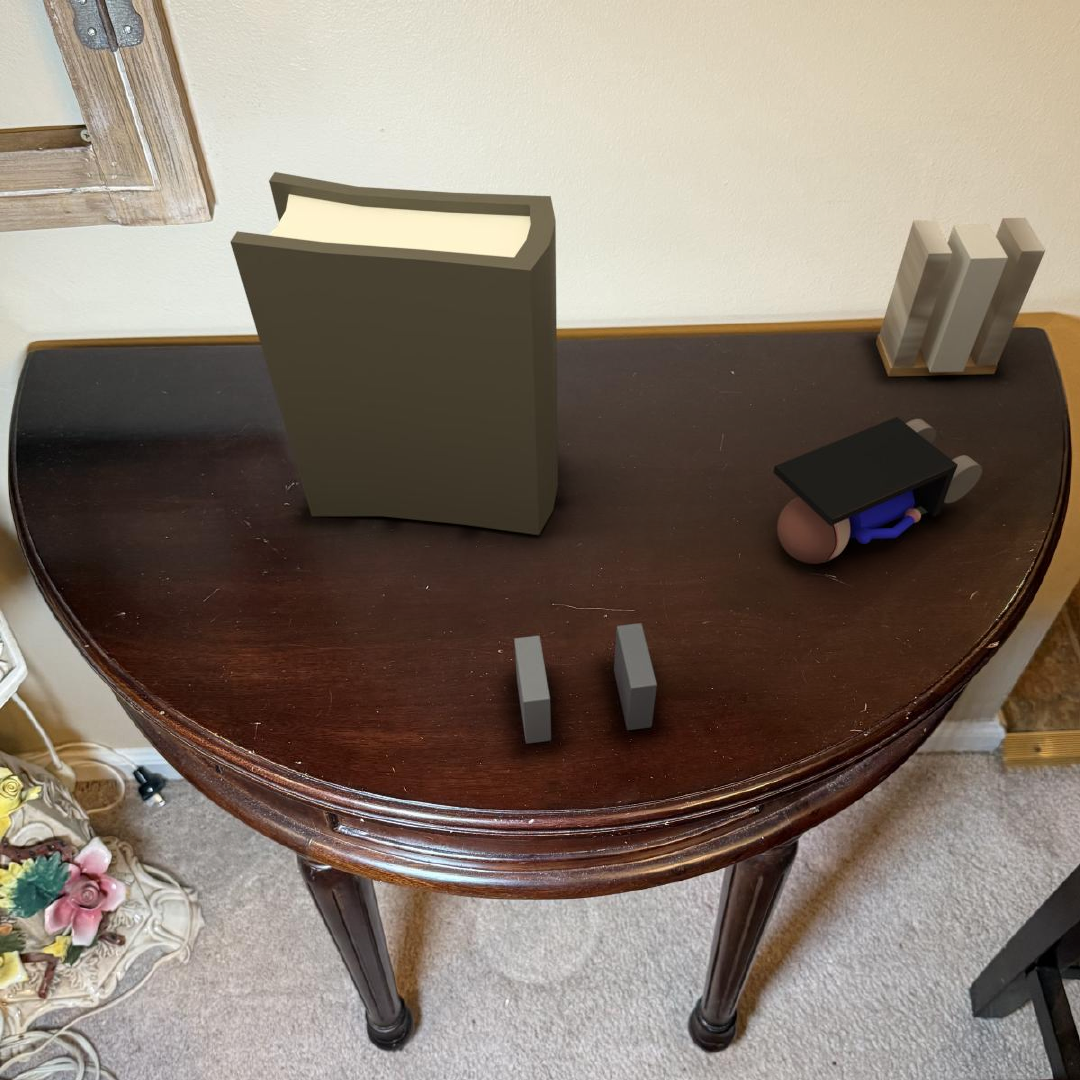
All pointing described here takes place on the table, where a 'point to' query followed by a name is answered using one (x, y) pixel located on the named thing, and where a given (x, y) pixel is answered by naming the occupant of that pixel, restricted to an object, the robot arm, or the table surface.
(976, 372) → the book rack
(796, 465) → the figurine character
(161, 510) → the table surface
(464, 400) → the book
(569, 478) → the table surface
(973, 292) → the beige rectangular block
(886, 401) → the table surface
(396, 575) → the table surface
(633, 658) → the grey rectangular blocks
